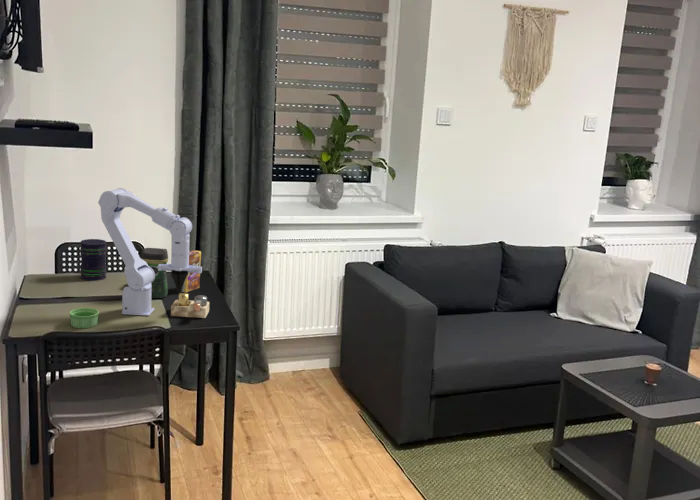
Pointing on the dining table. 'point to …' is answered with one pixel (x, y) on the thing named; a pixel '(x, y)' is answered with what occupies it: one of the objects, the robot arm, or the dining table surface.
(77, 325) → the ramekin
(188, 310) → the birch block
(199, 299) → the copper tipped joystick
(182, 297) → the brass pin
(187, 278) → the candy box
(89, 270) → the storage jar
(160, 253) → the coffee jar
